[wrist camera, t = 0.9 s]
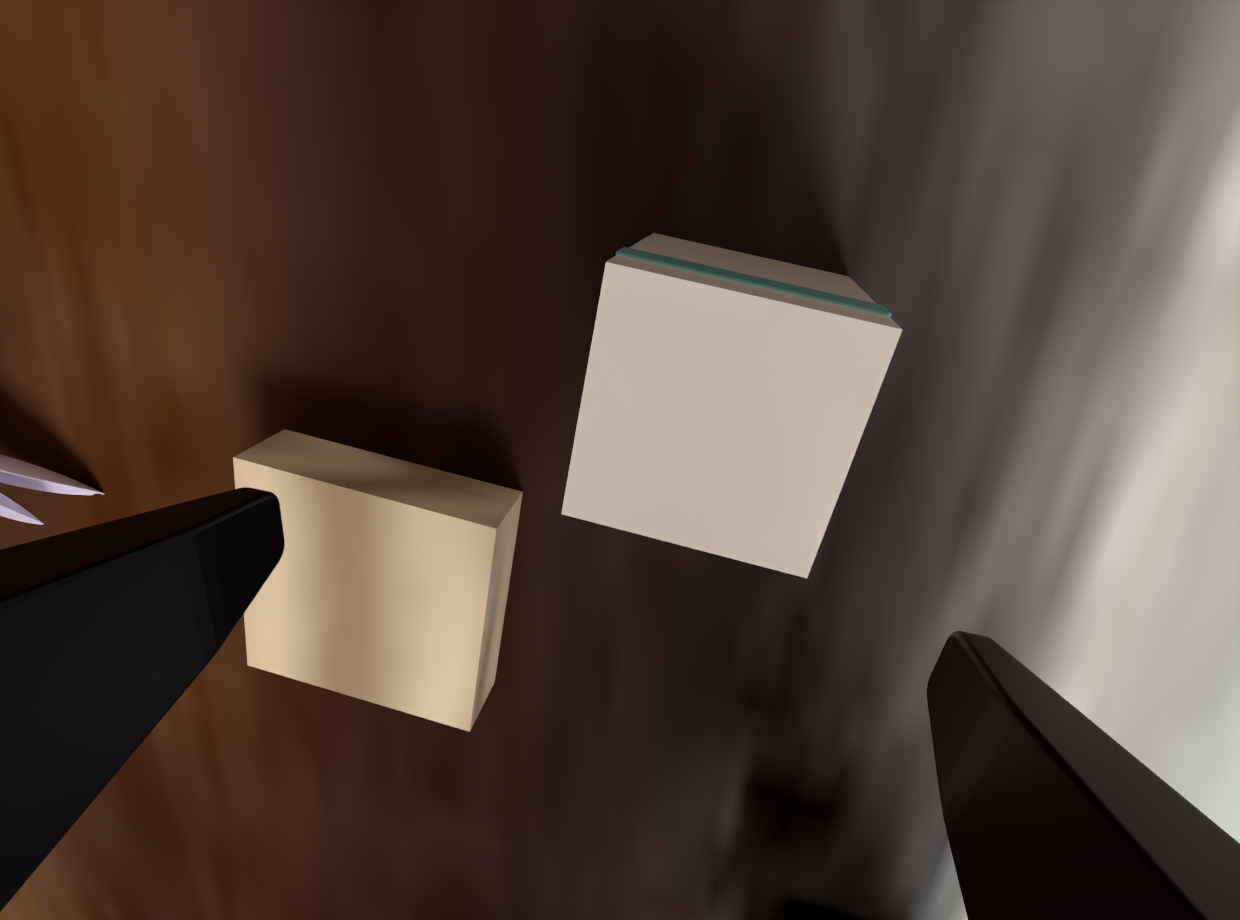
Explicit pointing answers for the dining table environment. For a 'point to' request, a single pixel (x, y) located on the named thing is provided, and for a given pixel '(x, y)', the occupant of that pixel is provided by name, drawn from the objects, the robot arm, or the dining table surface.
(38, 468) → the water lily
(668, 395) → the teal-striped cream cube
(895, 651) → the dining table surface
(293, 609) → the block
